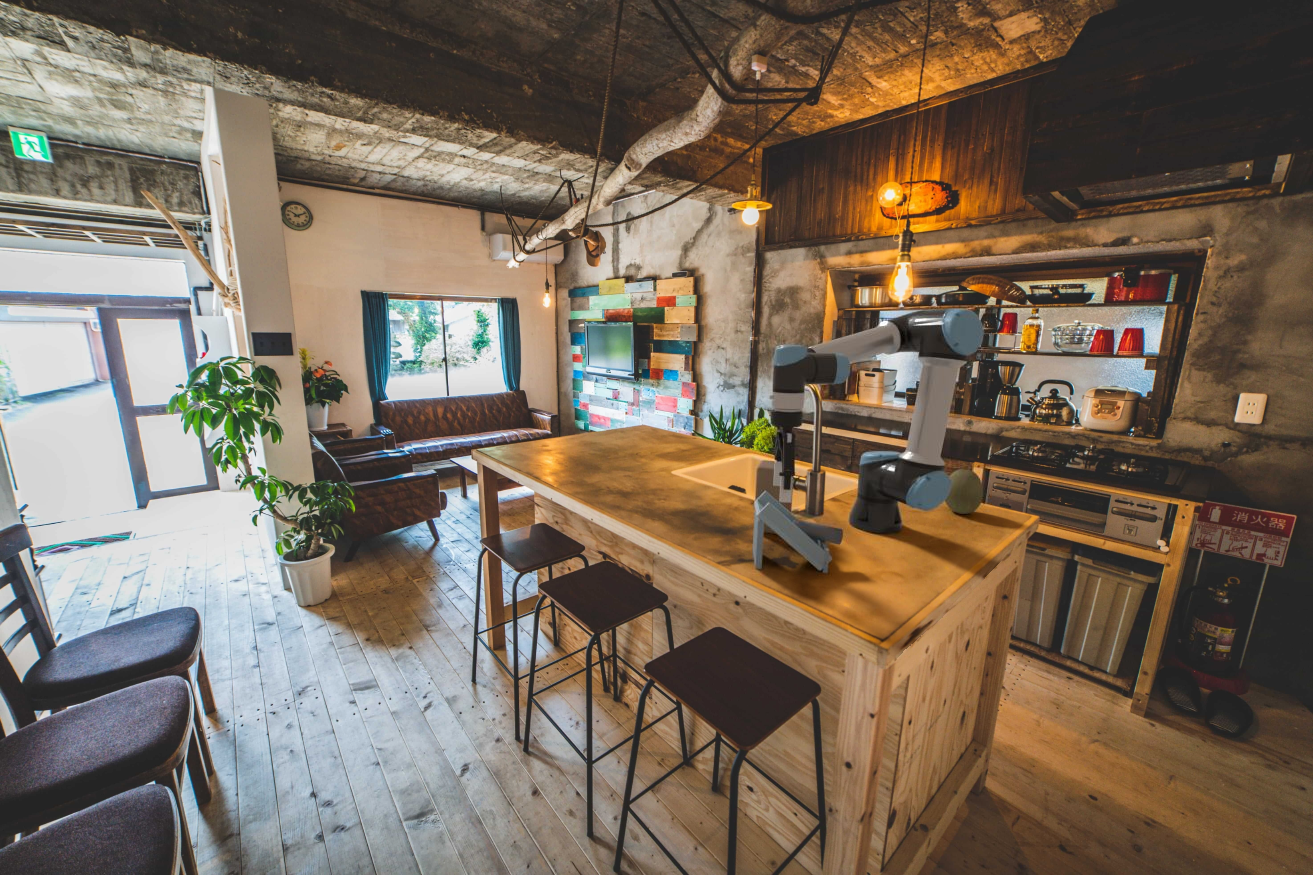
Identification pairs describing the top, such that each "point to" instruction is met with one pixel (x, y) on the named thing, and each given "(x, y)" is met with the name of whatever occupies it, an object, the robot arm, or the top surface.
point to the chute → (785, 533)
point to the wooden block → (769, 487)
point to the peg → (820, 531)
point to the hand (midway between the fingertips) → (781, 493)
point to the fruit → (964, 491)
